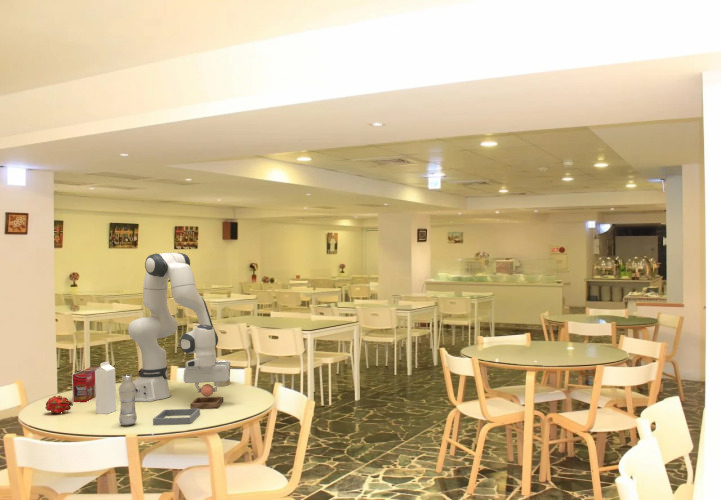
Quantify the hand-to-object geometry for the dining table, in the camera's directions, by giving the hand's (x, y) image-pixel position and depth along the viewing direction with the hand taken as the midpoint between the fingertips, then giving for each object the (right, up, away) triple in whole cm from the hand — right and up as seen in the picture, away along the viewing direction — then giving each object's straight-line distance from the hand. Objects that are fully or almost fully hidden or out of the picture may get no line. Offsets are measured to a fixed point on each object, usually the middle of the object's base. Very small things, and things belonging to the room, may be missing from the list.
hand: (207, 392), depth 284 cm
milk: (-43, -8, -6) cm, 44 cm away
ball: (0, +1, 0) cm, 1 cm away
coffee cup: (-3, -7, +45) cm, 46 cm away
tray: (0, -6, 0) cm, 6 cm away
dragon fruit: (-64, -8, -5) cm, 65 cm away
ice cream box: (-64, -9, +25) cm, 69 cm away
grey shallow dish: (-7, -6, -23) cm, 25 cm away
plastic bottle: (-25, -7, -29) cm, 39 cm away
